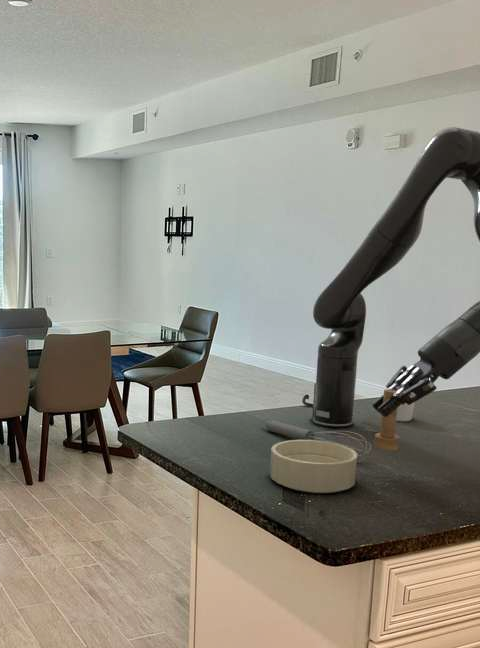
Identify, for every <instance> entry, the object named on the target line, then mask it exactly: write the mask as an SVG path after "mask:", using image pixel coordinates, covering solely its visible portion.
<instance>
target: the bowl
mask: <svg viewBox="0 0 480 648" xmlns="http://www.w3.org/2000/svg"><path fill="white" fill-rule="evenodd" d="M337 443H338V442H335V443H333V442H329V441H327V442H326V441H325V440H324V441H322V440H318V439H314V440H299V439H289V440H284V441H280V442H277V443H275V444H273V445H272V447H271V449H270V463H269V476H270V478H271V480H273V482H275V483H276V484H278V485H281V486H283V487H285V488H287V489H291V490H294V491H299V492H302V493H303V492H304V493H313V494H331V493H338V492H342V491H346V490H349V489H351V488H352V487H354V486H355V484H356V479H357V478H356V477H357V466H358V462H357V461H358V457H357V456H359V455H358V452H357V451H356V450H355V449H354V448H350V446H349V447H347V446H348V445H346V446H344V444H342V445H340V444H341V443H339V444H337ZM353 449H354V450H353Z"/></svg>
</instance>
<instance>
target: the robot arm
mask: <svg viewBox="0 0 480 648" xmlns="http://www.w3.org/2000/svg"><path fill="white" fill-rule="evenodd" d="M447 178H448V179H452V180H453V179H454V180H460V181H461V182H462V184H464V186H465V187H466V188H467V189H468V192H469V193H470V195H471V197H472V200H473V206H474V211H473V228H474V232H475V234H476V238H477V239H478V242H480V132H479V131H476V130H470V129H466V128H462V127H456V126H449V127H445V128H443V129H441V130H440V131H438V132H437V133H436V134H435V135H434V136H432V138H431V139H430V140H429V142H428V143H427V145H426V146H425V148H424V149H423V151H422V152H421V154H420V156H419V158H417V161H416V163H415V164H414V166H413V168H412V169H411V171H410V173H409V175H408V176H407V178H406V179H405V181H404V183H403V184H402V186H401V187H400V189H399V190H398V192H397V193H396V195H395V196H394V197H393V199H392V201H391V202H390V204H389V205H388V206H387V208H386V209H385V211H384V212H383V213H382V214H381V216H380V217H379V219H377V221H376V223H375V224H374V225H373V226H372V228H371V229H370V231H368V233H367V234H366V237H365V238H364V240H363V241H362V242H361V244H360V245H359V246H358V248H357V249H356V250H355V251H354V253H353V254H352V256H351V257H350V258H349V260H348V261H347V263H346V264H345V265H344V267H343V268H342V269H341V271H340V272H339V273H338V274H337V275H336V276H335V277H334V279H332V281H331V282H330V283H329V284H328V285H327V286H326V287H325V288H324V290H323V291H322V292H321V293H320V294H319V295H318V297H317V298H316V300H315V302H314V306H313V310H312V317H313V320H314V322H315V324H316V325H318V327H320V328H323V329H327V330H330V333H329V335H328V336H327V337H326V338H325V339H324V340H323V341H321V342H320V343H319V344H318V346H317V362H316V376H315V378H316V379H315V383H314V386H313V387H314V388H313V389H314V390H313V399H312V400H313V402H311V403H310V402H307V401H306V400H310V395H309V394H305V395H304V396H303V397H302V400H301V401H302V404H303V405H305V406H307V407H311V408H312V416H311V417H312V422H313V424H315V425H317V426H322V427H325V428H348V427H351V426H353V425H354V420H353V416H354V408H355V407H354V406H355V405H354V404H355V393H356V382H357V371H358V369H357V367H358V356H359V350H360V348H361V346H362V344H363V341H364V340H363V339H364V332H365V331H364V330H365V326H366V317H367V304H366V301H365V297H364V296H363V294H362V292H363V291H364V290H365V289H366V288H368V287H369V286H370V285H372V284H373V283H374V282H376V281H377V280H378V279H380V278H381V277H382V276H384V275H385V274H387V273H388V272H389V271H391V270H392V269H393V268H394V267H396V266H397V265H398V264H399V263H400V262H401V261H402V260H403V259H404V257H405V256H406V255H407V254H408V252H410V250H411V248H412V247H413V246H414V245H415V243H416V242H417V241H418V239H419V237H420V235H421V232H422V229H423V223H424V217H425V210H426V206H427V204H428V202H429V200H430V199H431V197H432V196H433V194H434V193H435V191H436V190H437V189H438V188H439V186H440V185H441V184H442V183H443V181H445V180H446V179H447ZM479 354H480V300H479V301H476V302H475V303H474V304H473V305H471V307H469V308H468V309H467V310H465V312H463V313H462V314H461V315H460V316H458V317H457V318H456V319H455V320H453V321H452V322H450V323H449V324H447V325H446V326H445V327H443V328H442V329H441V330H440V331H439V332H438V333H437V334H435V335H434V336H433V337H432V338H431V339H429V341H427V342H426V343H425V344H424V345H423V346H421V347H420V348H419V349H418V350H417V355H418V357H419V358H420V359H419V360H418V361H417V362H415V363H413V364H412V365H410V366H409V367H407V366H406V365H402V366H400V368H399V369H398V370H397V371H396V372H395V373H394V375H393V376H392V378H390V380H389V381H388V383H387V384H386V385H385V388H386V389H393V390H398V391H397V392H396V393H395V394H394V395H393V396H394V397H393V396H391V397H390V398H389V399H388V400H386V401H385V402H384V403H383V397H384V394H382V395H381V396H380V397H379V398H378V399H376V400H375V401H374V402H373V403H372V408H373V409H374V410H375V411H376V412H377V413H379V414H380V415H381V416H382V415H383V416H384V417H387V416H388V415H389V414H390V413H392V412H393V411H394V410H395V409H396V408H398V407H399V406H400V405H401V404H402V405H404V404H406V403H407V404H408V405H410V404H412V403H414V402H415V403H416V402H417V401H419V400H421V399H422V398H424V397H426V396H427V395H430V394H431V393H433V392H435V391H436V390H437V386H436V385H435V384H434V383H435V382H436V381H437V380H438V378H439V377H440V379H443V380H449V379H450V378H451V377H453V376H454V375H455V374H456V373H458V372H459V371H460V370H461V369H463V368H464V367H465V366H466V365H467V364H468V363H469V362H471V361H472V360H473V359H475V358H476V357H477V356H478V355H479Z"/></svg>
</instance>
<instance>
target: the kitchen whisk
mask: <svg viewBox="0 0 480 648" xmlns="http://www.w3.org/2000/svg"><path fill="white" fill-rule="evenodd" d="M263 428H264V429H265V430H266V432H272V433H274V434H278V435H282V436H285V437H289V438H293V439H294V440H318V441H326V442H331V443H337V444H340V445H343V446H347V447H349V448H351V449H353V450H354V451H355V452H358V453H362V454H360V455H357V458H358V457H361V456H362V457H361V458H360V459H359V460H357V463H363V462H366V461H367V459H368V455H371V452H370V451H371V449H372V444H371V443H369V442H368V441H367V440H366V439H365V437H364V436H362V435H361V434H359V433H356V432H353V431H347V430H339V432H338V431H335V430H327V431H318V432H316V433H315V432H314V431H313V430H311V429H307V428H306V429H305V428H302V427H299V426H295V425H292V424H287V423H283V422H280V421H276V420H272V419H271V420H269V419H266V420H265V421H264V422H263ZM341 432H342V433H341ZM322 433H323V434H322ZM324 433H325V434H324ZM326 433H327V434H326ZM328 433H331V434H341V435H345V436H344V438H346V439H351V440H352V439H353V440H356V441H357V442H358V443H359V444H360V446H362V449H363V450H362V449H359V448H356V447H353V446H349V445H346V444H342V443H339V442H335V441H331V440H328V439H324V438H320V436H321V437H330V435H329V434H328ZM347 433H349V434H355V435H357V436H359V437H361V438H362V439H358V438H356V437H354V436H352V435H349V434H347ZM316 436H319V437H316ZM334 437H337V438H343V436H340V435H334ZM361 442H365V445H363V443H361ZM368 445H369V446H370V447H369V449H368ZM367 449H368V450H367ZM364 457H366V458H365V459H364ZM363 459H364V460H363Z"/></svg>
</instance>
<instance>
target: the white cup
mask: <svg viewBox="0 0 480 648" xmlns="http://www.w3.org/2000/svg"><path fill="white" fill-rule="evenodd" d="M415 404H416V401H415V402H414V403H412V404H410V405H408V404H407V403H406V404H404V405H402V404H401V405H400V406H399V407H398V408H397V416H396V422H409V421H412V419H413V413H414V409H415Z"/></svg>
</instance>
